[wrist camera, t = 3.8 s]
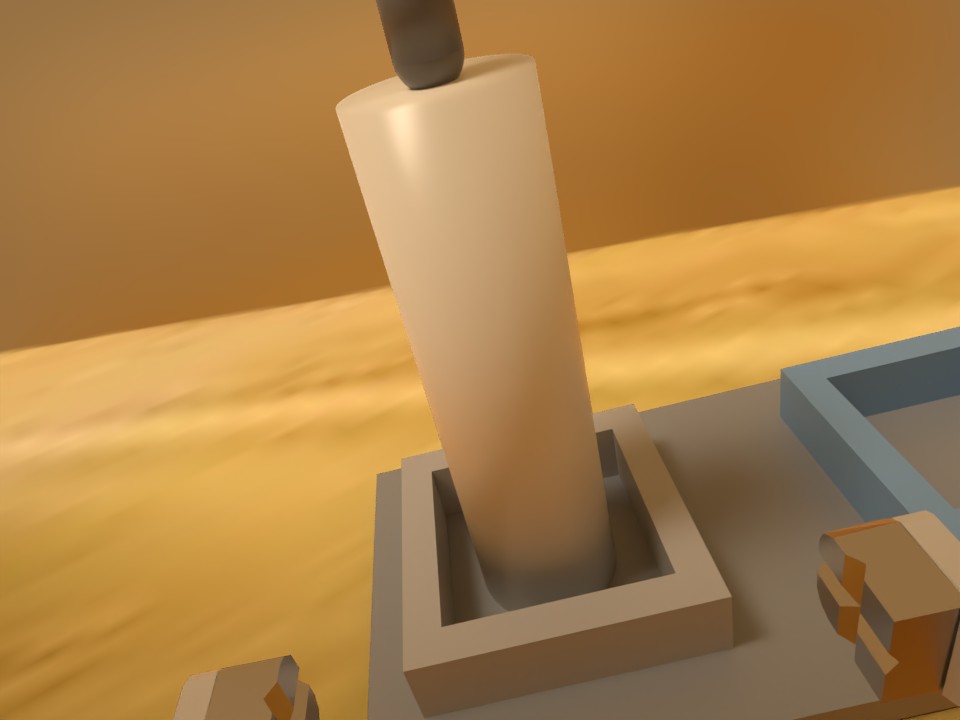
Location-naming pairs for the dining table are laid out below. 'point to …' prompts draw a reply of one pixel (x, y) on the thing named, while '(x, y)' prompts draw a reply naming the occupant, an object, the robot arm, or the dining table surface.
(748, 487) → the lever base plate
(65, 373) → the dining table surface
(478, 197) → the knob-topped cream cylinder
